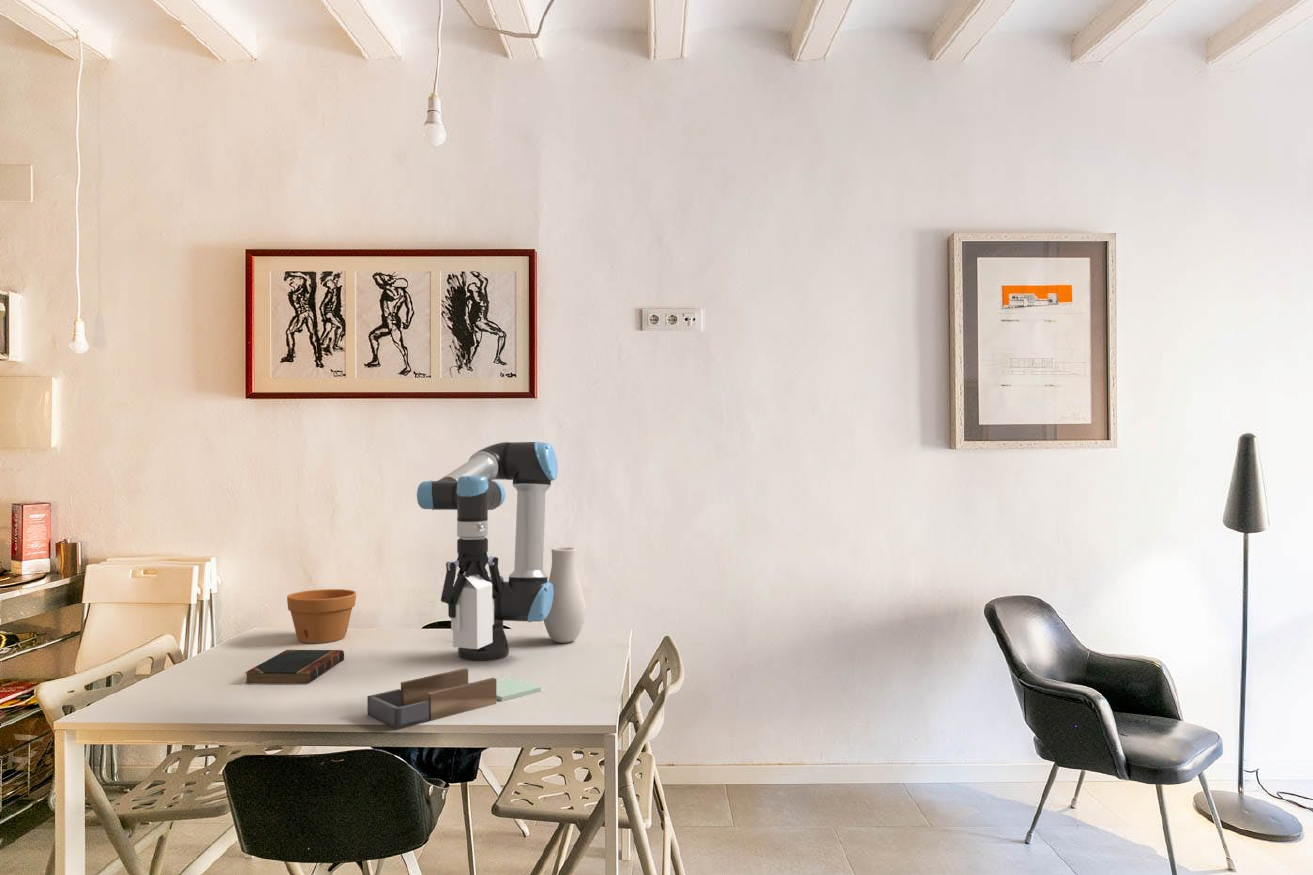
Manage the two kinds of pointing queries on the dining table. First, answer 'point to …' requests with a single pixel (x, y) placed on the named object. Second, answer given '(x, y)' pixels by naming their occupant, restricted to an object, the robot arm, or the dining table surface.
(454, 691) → the channel
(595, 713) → the dining table surface
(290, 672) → the book
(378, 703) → the bin
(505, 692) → the pad
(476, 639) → the milk carton
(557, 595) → the vase
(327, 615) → the flower pot
